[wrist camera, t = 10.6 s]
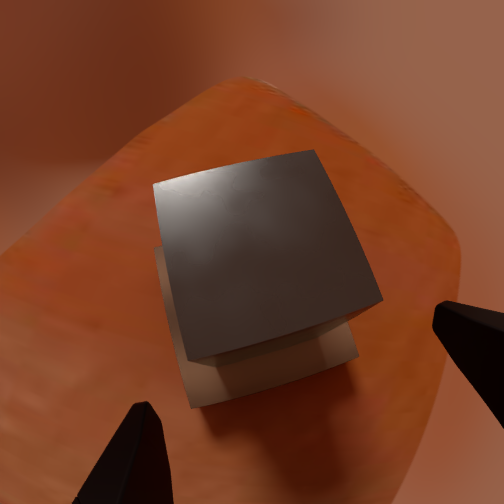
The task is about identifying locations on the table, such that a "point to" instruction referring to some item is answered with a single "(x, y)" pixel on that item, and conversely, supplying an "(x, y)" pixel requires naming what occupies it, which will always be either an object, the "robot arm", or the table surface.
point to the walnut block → (252, 359)
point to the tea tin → (260, 257)
